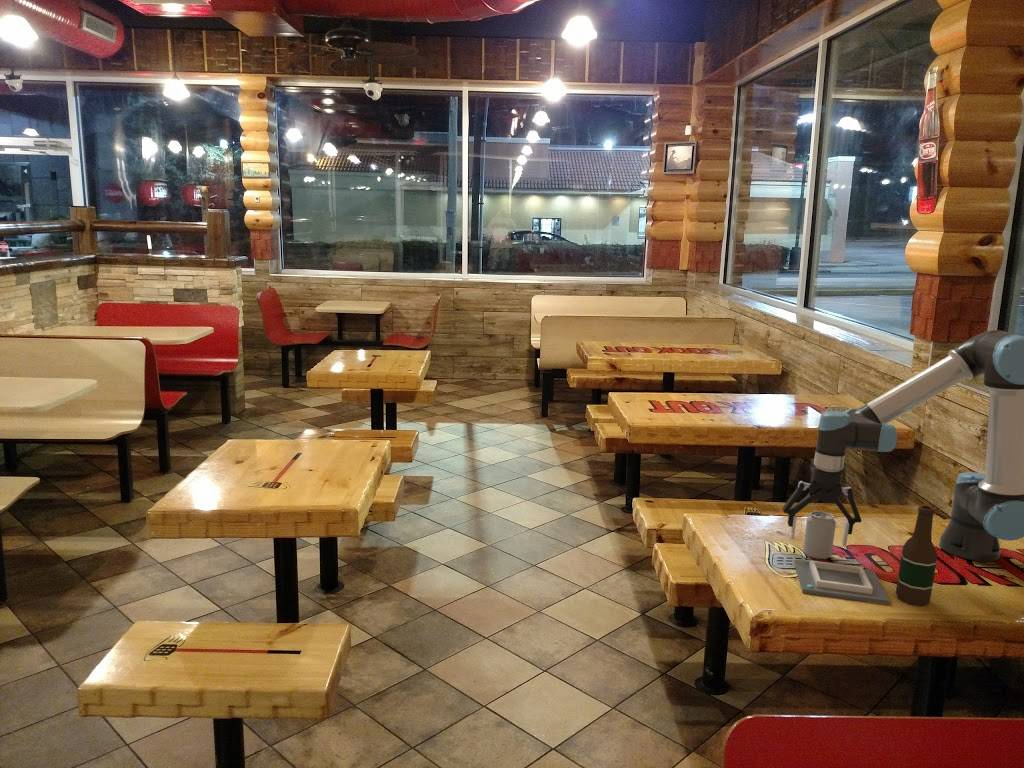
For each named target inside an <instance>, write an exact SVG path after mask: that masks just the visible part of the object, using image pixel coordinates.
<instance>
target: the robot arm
mask: <svg viewBox="0 0 1024 768" xmlns="http://www.w3.org/2000/svg"><path fill="white" fill-rule="evenodd" d="M982 375H983V387H985V388H986V389H987V391H988V392H989V399H988V400H989V402H988V419H987V420H988V423H987V439H986V455H985V457H986V458H985V472H984V473H982V472H972V471H966V472H961V473H959V474H958V476H957V478H956V482H955V488H954V495H953V502H952V507H951V508H952V509H951V515H950V520H949V521H948V523H947V525H946V527H945V529H944V530H943V532H942V534H941V535H940V539H939V547H940V548H941V549H942V550H943V551H945V552H946V553H948V554H951V555H953V556H956V557H957V558H958V557H959V558H962V559H965V560H966V559H967V560H971V561H976V562H977V561H978V562H995V561H998V560H999V559H1000V557H1001V545H1000V540H1002V541H1007V542H1008V541H1009V542H1010V541H1017V540H1020V539H1023V538H1024V335H1023V334H1018V333H1017V334H1016V333H1012V332H1009V331H1005V330H999V329H994V330H987V331H984V332H982V333H979V334H977V335H975V336H972V337H971V338H969V339H966V340H965V341H964V342H962V343H960V344H958V345H957V346H955V347H954V348H951V349H950V350H948V353H947V356H946V357H944V358H942V359H941V360H939V361H936V362H935V363H934V364H932V365H930V366H928V367H927V368H925V369H923V370H922V371H920V372H919V373H916V374H915V375H913V376H912V377H910V378H908V379H906V380H905V381H903V382H902V383H900V384H899V385H896V386H895V387H893V388H891V389H890V390H888V391H886V392H884V393H883V394H881V395H879V396H878V397H876V398H874V399H872V400H871V401H869V402H868V403H866V404H864V405H862V406H860V407H858V408H849V409H847V410H844V411H838V410H825V411H823V412H822V413H821V415H820V418H819V424H818V430H817V438H816V447H815V453H814V460H813V465H814V466H813V467H812V475H811V480H810V482H809V483H808V482H804V481H803V480H799V481H798V482H797V487H796V489H795V490H794V491H793V492H792V494H791V496H790V497H789V498H788V500H786V502H785V504H784V505H783V506H782V511H783V513H784V514H787V515H788V517H787V526H788V527H790V534H789V537H790V540H795V534H796V528H797V520H798V519H797V517H798V516H797V513H799V512H800V511H802V510H803V509H804V508H805V507H806V506H807V505H809V504H810V503H811V502H814V501H815V500H817V501H819V502H823V501H824V502H827V503H830V502H832V501H833V502H834V503H835V504H836V506H837V508H838V509H839V510H840V511H841V513H842V514H843V515H844V518H845V519H846V520H843V521H844V522H843V529H842V536H841V542H840V543H841V545H842V546H843V547H847V542H848V537H849V535H852V534H853V528H854V525H855V523H861V522H862V518H861V515H860V512H859V510H858V507H857V504H856V503H855V500H854V497H853V495H854V490H853V488H852V487H851V486H850V485H848V486H845V487H843V486H842V479H843V471H842V470H843V469H844V466H845V465H844V464H845V460H846V459H845V458H846V452H847V449H848V450H849V449H850V450H858V451H859V450H861V451H871V452H878V453H881V452H883V453H884V452H885V453H887V452H888V453H889V452H892V451H893V450H894V449H895V447H896V445H897V440H898V432H897V428H896V427H895V426H894V425H893V424H890V422H892V421H894V420H896V419H897V418H899V417H901V416H902V415H904V414H906V413H908V412H910V411H912V410H913V409H915V408H916V407H918V406H920V405H922V404H924V403H926V402H927V401H929V400H931V399H933V398H934V397H936V396H938V395H940V394H941V393H943V392H944V391H946V390H948V389H949V388H951V387H954V386H956V384H958V383H960V382H962V381H963V380H970V381H971V380H973V379H975V378H976V377H979V376H982ZM888 423H889V424H888ZM807 489H809V490H810V492H809V493H808V494H807V495H806V496H804V498H802V499H800V500H799V502H798V503H796V502H797V500H798V499H799V498H800V497H801V495H802V494H803V491H806V490H807ZM841 493H843V494H844V496H845V497H847V501H848V503H849V506H850V508H851V511H852V514H853V515H854V516H851V514H850V512H849V511H848V510H847V509H846V507H845V506H844V504H843V503H842V501H841V500H840V498H839V497H838V496H839V495H840V494H841ZM795 503H796V504H795ZM794 504H795V505H794Z"/></svg>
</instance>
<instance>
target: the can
mask: <svg viewBox="0 0 1024 768" xmlns="http://www.w3.org/2000/svg"><path fill="white" fill-rule="evenodd" d="M836 525H837V521H836V520H835V515H833V514H831V513H829V512H825V511H819V510H818V511H817V510H816V511H811V512H810V513H809V516H807V517H806V522H805V533H804V539H803V545H802V546H803V547H802V551H803V553H804V554H805V555H806V554H807V555H808V556H807V555H806V556H807V557H809V556H810V557H809V558H811V557H813V558H812V559H814V558H817V559H816V560H819V559H824V560H827V559H829V558H830V557H832V554H833V547H834V539H835V532H836Z"/></svg>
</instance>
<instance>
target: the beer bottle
mask: <svg viewBox="0 0 1024 768" xmlns="http://www.w3.org/2000/svg"><path fill="white" fill-rule="evenodd" d="M917 511H918V513H917V517H916V522H915V527H914V530H913V533H912V535H911V536H910V537H909V538H908V539H907V540H906V541H905V543H904V545H903V546H902V550H901V556H900V562H899V568H898V574H897V583H896V589H895V590H896V591H895V593H896V594H895V595H896V596H897V599H898V600H899V601H901V602H903V603H905V604H907V605H911V606H917V607H923V606H927V604H928V605H929V604H930V602H931V598H932V591H933V585H934V580H935V573H936V567H937V560H938V559H937V557H938V554H937V550H936V548H935V545H934V544H933V541H932V531H933V521H934V515H935V513H936V511H935V509H934V507H932V506H929V505H920V506H918V507H917Z"/></svg>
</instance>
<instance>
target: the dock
mask: <svg viewBox="0 0 1024 768" xmlns="http://www.w3.org/2000/svg"><path fill="white" fill-rule="evenodd" d="M794 564H795V566H794V568H796V569H795V573H796V575H797V576H796V577H797V579H798V582H799V586H800V589H801V593H802V594H810V595H817V596H823V597H824V596H825V597H830V596H831V597H830V598H837V597H838V599H839V598H840V599H846V600H852V601H861V602H866V601H870V602H869V603H874V602H877V603H876V604H881V603H883V605H888V604H889V605H890V602H891V600H890V598H889V597H888V595H887V593H886V590H885V589H884V587H883V585H882V584H881V581H880V579H879V577H878V576H877V574H876V572H875V570H874V569H866V568H863V566H858V565H857V566H856V565H850V564H842V563H835V562H827V561H826V562H825V561H821V560H819V561H818V560H812V559H811V560H809V561H805V560H799V559H798V560H797V559H794V560H793V565H794Z"/></svg>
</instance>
